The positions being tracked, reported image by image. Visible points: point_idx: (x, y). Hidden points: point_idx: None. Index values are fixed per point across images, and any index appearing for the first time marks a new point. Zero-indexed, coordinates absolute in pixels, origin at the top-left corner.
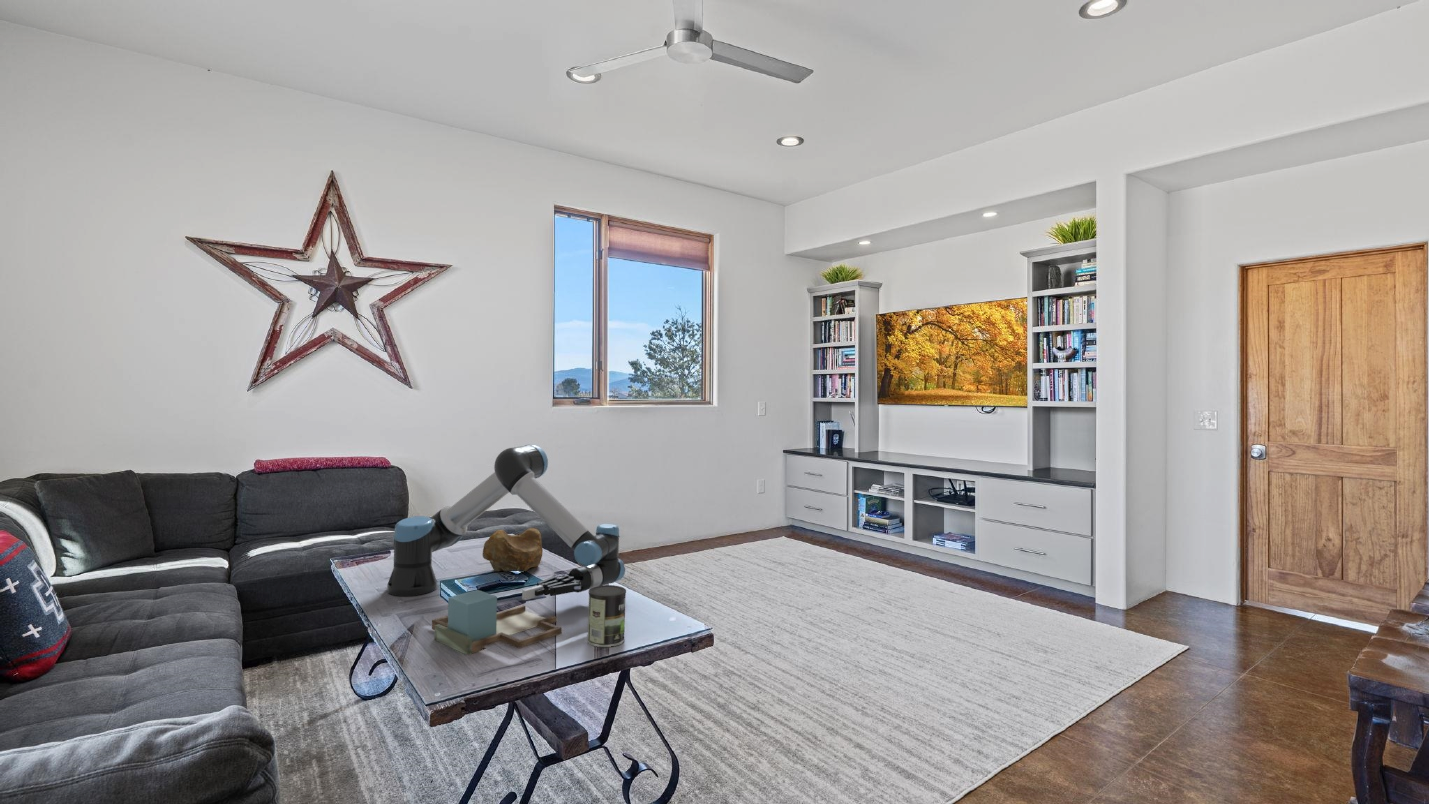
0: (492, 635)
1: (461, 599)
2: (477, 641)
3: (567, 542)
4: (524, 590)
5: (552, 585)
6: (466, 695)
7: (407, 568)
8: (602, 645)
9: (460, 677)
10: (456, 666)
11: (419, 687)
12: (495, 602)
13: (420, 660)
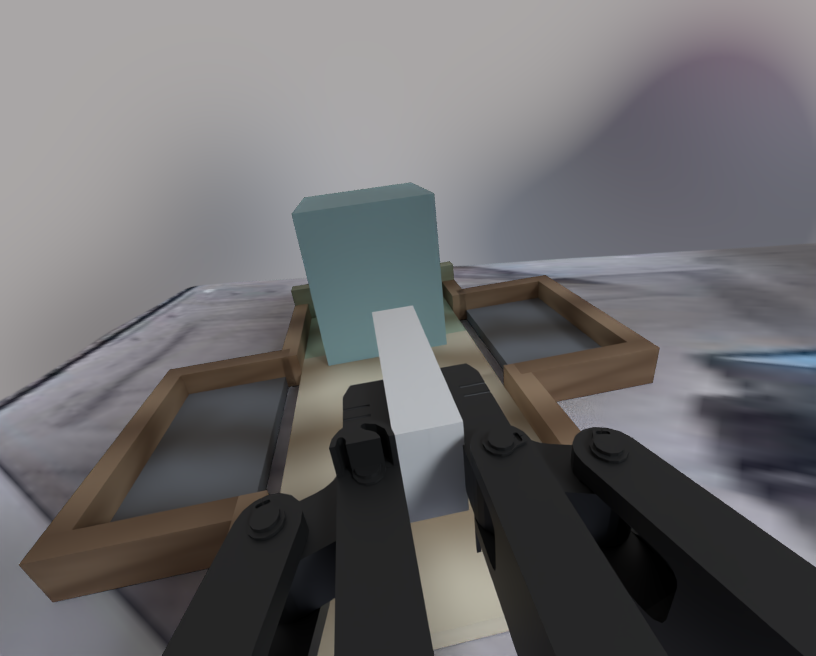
0: (299, 336)
1: (363, 190)
2: (296, 312)
3: None
4: (387, 310)
5: (344, 580)
6: (156, 307)
7: None
8: None
9: (220, 308)
10: (270, 309)
11: (255, 281)
12: (298, 236)
13: None
